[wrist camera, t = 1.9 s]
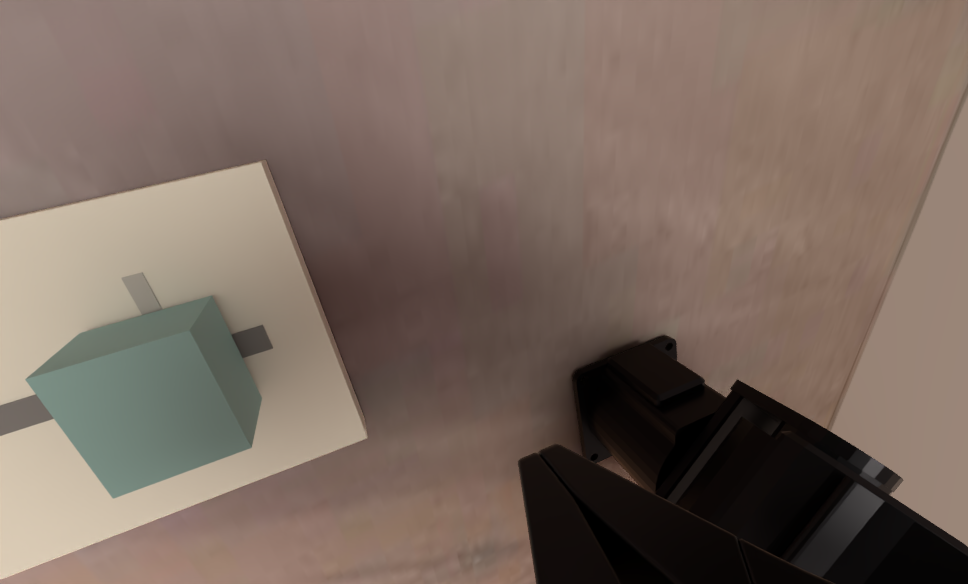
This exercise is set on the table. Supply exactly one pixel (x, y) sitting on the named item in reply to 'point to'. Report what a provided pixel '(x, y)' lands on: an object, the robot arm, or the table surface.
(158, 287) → the fader panel
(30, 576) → the table surface
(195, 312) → the fader tab
